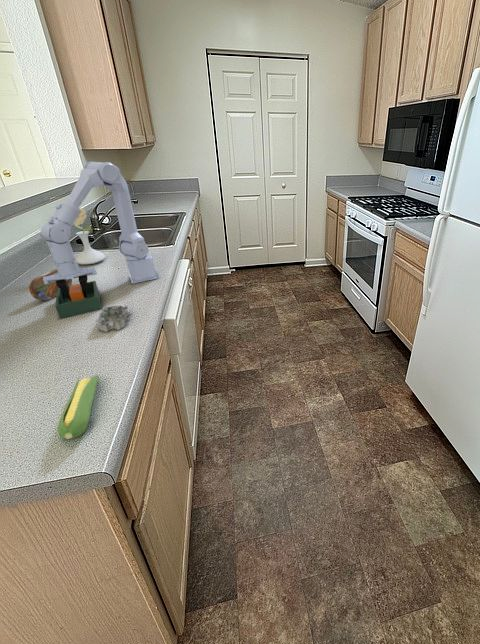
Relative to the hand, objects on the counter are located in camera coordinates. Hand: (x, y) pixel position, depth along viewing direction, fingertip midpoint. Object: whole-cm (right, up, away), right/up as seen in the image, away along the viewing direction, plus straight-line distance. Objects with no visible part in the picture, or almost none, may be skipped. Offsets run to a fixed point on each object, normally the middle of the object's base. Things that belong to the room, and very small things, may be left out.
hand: (78, 298), depth 113 cm
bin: (0, -2, +1) cm, 2 cm away
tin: (-14, +1, +8) cm, 16 cm away
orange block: (0, -1, +1) cm, 1 cm away
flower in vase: (-18, +16, +37) cm, 44 cm away
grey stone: (+18, -8, -10) cm, 22 cm away
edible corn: (+29, -23, -42) cm, 56 cm away
